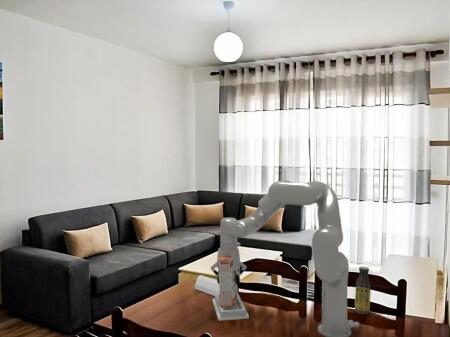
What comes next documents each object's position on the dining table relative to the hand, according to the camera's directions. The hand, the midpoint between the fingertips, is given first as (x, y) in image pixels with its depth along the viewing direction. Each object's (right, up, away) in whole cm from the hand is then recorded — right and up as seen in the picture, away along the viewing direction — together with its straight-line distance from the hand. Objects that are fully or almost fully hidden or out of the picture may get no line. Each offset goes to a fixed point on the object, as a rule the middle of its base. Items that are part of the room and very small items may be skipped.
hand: (228, 284), depth 180 cm
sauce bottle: (+59, -11, -4) cm, 60 cm away
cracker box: (+1, -8, 0) cm, 8 cm away
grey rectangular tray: (+1, -11, 0) cm, 11 cm away
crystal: (-7, -11, +22) cm, 26 cm away
